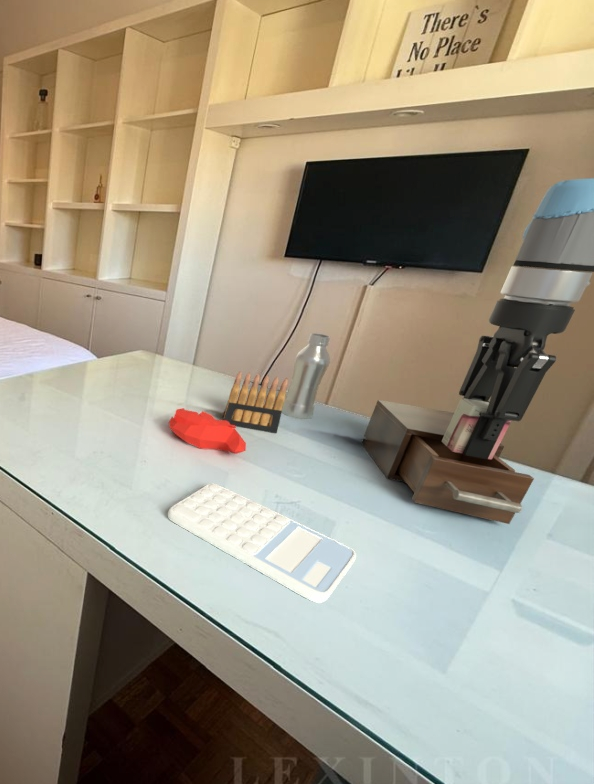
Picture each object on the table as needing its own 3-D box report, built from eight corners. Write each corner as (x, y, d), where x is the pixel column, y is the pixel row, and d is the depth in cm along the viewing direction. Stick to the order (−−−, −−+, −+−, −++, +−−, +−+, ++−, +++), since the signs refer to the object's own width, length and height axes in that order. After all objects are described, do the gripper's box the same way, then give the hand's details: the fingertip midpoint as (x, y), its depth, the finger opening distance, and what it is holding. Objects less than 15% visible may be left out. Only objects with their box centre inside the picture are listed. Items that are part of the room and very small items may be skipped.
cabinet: (478, 498, 76) (504, 446, 73) (386, 478, 81) (407, 428, 77) (437, 458, 90) (457, 413, 87) (360, 443, 94) (377, 399, 91)
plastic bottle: (312, 421, 104) (340, 336, 97) (306, 429, 99) (335, 340, 92) (281, 412, 108) (306, 330, 101) (273, 420, 103) (299, 334, 96)
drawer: (527, 542, 64) (555, 494, 61) (426, 517, 68) (447, 471, 65) (462, 479, 80) (481, 439, 78) (383, 462, 84) (399, 424, 82)
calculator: (209, 489, 73) (212, 479, 72) (356, 561, 59) (361, 549, 58) (163, 518, 64) (166, 507, 64) (321, 609, 50) (327, 596, 50)
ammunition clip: (222, 423, 99) (236, 371, 95) (221, 420, 101) (234, 369, 96) (276, 433, 96) (293, 380, 92) (274, 429, 98) (290, 377, 94)
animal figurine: (233, 468, 80) (240, 442, 78) (159, 436, 90) (163, 413, 89) (260, 451, 87) (267, 427, 86) (188, 423, 98) (193, 401, 96)
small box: (451, 452, 71) (472, 405, 68) (440, 441, 74) (460, 397, 72) (493, 460, 69) (517, 413, 66) (480, 449, 73) (502, 403, 70)
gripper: (623, 313, 55) (532, 481, 63) (533, 297, 70) (469, 434, 78) (540, 305, 57) (463, 468, 65) (471, 291, 72) (415, 424, 80)
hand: (466, 449), depth 72 cm, fingers closed on small box, 4 cm apart
